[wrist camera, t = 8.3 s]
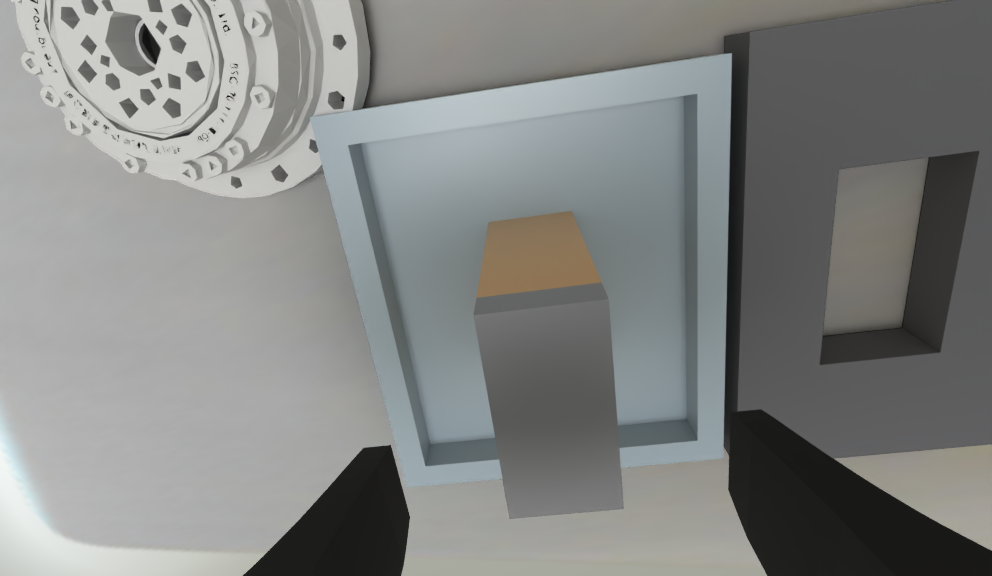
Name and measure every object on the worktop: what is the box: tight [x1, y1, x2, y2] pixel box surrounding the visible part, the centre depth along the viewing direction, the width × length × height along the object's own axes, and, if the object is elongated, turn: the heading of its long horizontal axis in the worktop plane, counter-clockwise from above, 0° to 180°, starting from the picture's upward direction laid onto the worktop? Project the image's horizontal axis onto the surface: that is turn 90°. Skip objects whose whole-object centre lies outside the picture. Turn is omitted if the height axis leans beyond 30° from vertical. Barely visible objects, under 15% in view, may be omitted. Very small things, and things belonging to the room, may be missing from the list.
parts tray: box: [310, 53, 732, 487], centre depth 20 cm, size 13×15×2 cm
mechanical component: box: [11, 0, 370, 198], centre depth 16 cm, size 10×4×10 cm
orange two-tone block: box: [473, 211, 624, 519], centre depth 16 cm, size 3×6×8 cm, turn 8°
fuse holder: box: [723, 0, 992, 458], centre depth 19 cm, size 10×16×2 cm, turn 8°
